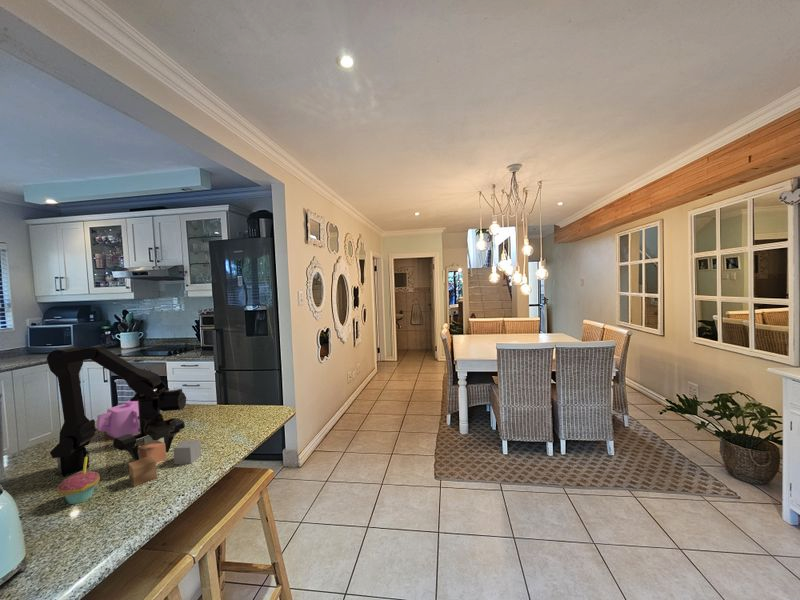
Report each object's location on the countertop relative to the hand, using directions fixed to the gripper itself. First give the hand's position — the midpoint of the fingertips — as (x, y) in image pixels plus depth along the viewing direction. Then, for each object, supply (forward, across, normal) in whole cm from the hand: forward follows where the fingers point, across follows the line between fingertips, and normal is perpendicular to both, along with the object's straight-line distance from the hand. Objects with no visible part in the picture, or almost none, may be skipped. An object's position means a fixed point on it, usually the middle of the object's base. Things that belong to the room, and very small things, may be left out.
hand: (152, 458), depth 113 cm
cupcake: (+1, -20, -5) cm, 21 cm away
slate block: (+1, +6, -10) cm, 12 cm away
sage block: (+1, +6, +10) cm, 12 cm away
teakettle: (+1, +9, +38) cm, 39 cm away
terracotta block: (+1, 0, 0) cm, 1 cm away
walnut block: (+1, -7, -10) cm, 12 cm away
